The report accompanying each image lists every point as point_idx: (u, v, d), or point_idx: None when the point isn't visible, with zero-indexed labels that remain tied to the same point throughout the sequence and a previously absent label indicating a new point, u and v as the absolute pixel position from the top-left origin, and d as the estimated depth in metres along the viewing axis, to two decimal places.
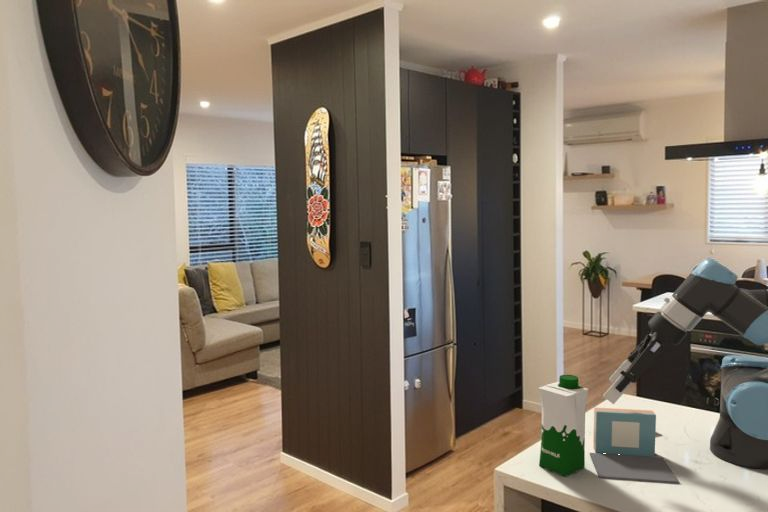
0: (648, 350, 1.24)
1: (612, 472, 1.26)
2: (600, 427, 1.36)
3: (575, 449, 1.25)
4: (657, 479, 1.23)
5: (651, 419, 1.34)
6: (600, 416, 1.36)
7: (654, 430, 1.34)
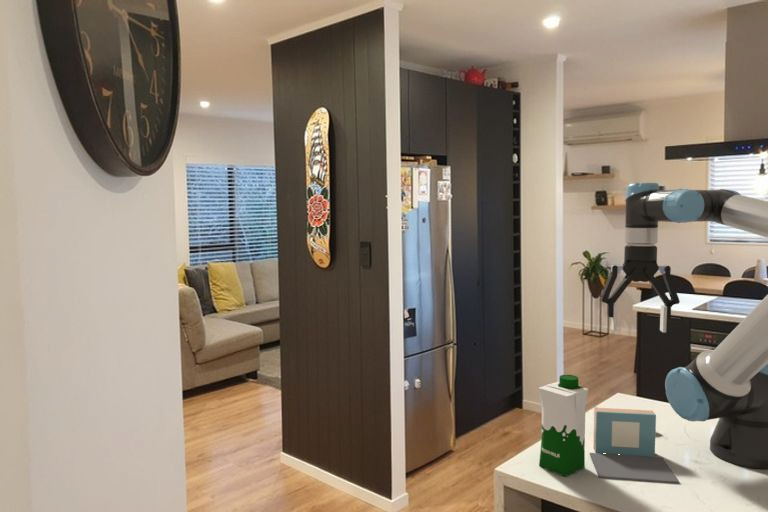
0: (610, 273, 1.49)
1: (612, 472, 1.26)
2: (600, 427, 1.36)
3: (575, 449, 1.25)
4: (657, 479, 1.23)
5: (651, 419, 1.34)
6: (600, 416, 1.36)
7: (654, 430, 1.34)
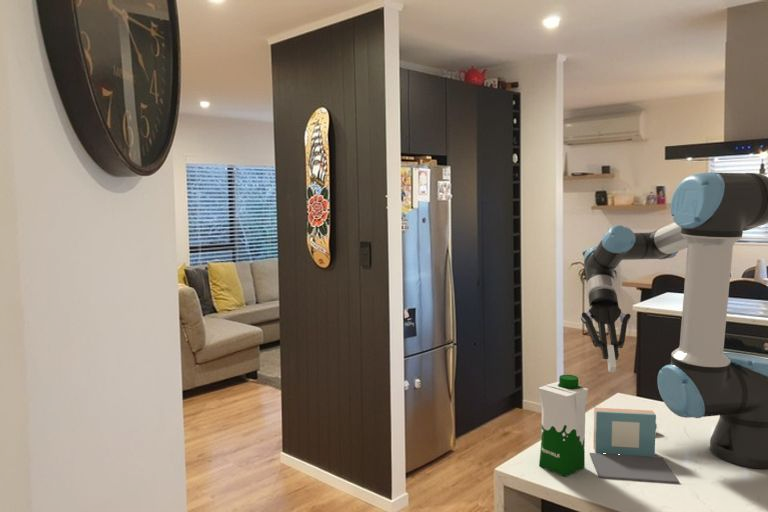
0: (585, 323, 1.60)
1: (612, 472, 1.26)
2: (600, 427, 1.36)
3: (575, 449, 1.25)
4: (657, 479, 1.23)
5: (651, 419, 1.34)
6: (600, 416, 1.36)
7: (654, 430, 1.34)
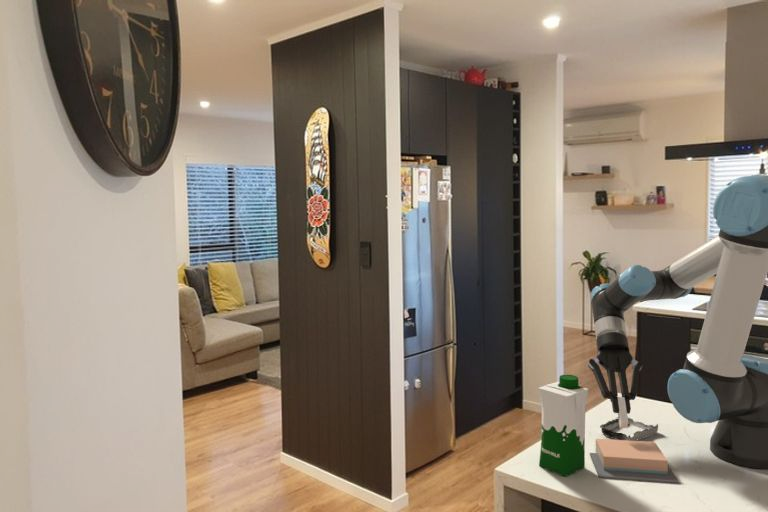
0: (593, 371, 1.45)
1: (612, 472, 1.26)
2: None
3: (575, 449, 1.25)
4: (657, 479, 1.23)
5: None
6: None
7: None
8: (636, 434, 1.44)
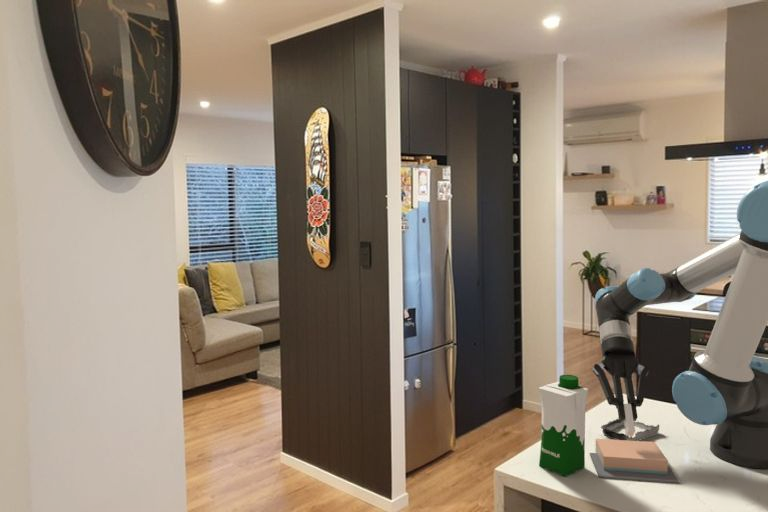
0: (598, 376, 1.41)
1: (612, 472, 1.26)
2: None
3: (575, 449, 1.25)
4: (657, 479, 1.23)
5: None
6: None
7: None
8: (637, 435, 1.44)
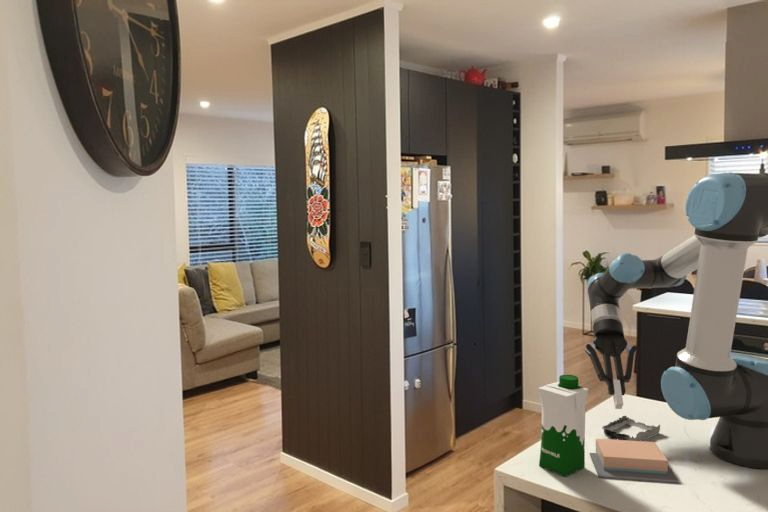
0: (590, 355, 1.52)
1: (612, 472, 1.26)
2: None
3: (575, 449, 1.25)
4: (657, 479, 1.23)
5: None
6: None
7: None
8: (639, 435, 1.43)
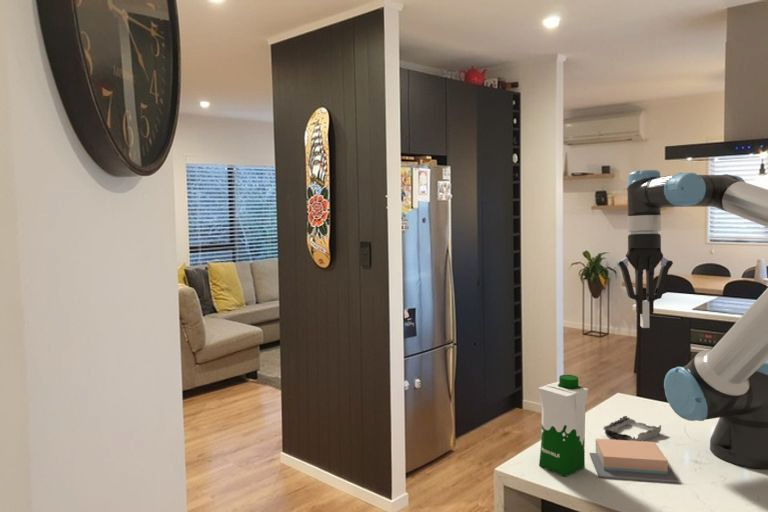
0: (621, 270, 1.48)
1: (612, 472, 1.26)
2: None
3: (575, 449, 1.25)
4: (657, 479, 1.23)
5: None
6: None
7: None
8: (640, 436, 1.43)
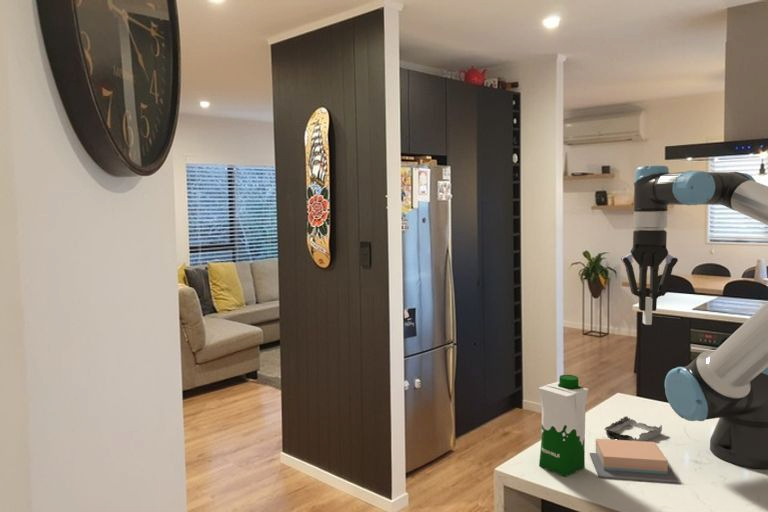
0: (625, 266, 1.46)
1: (612, 472, 1.26)
2: None
3: (575, 449, 1.25)
4: (657, 479, 1.23)
5: None
6: None
7: None
8: (642, 436, 1.43)
